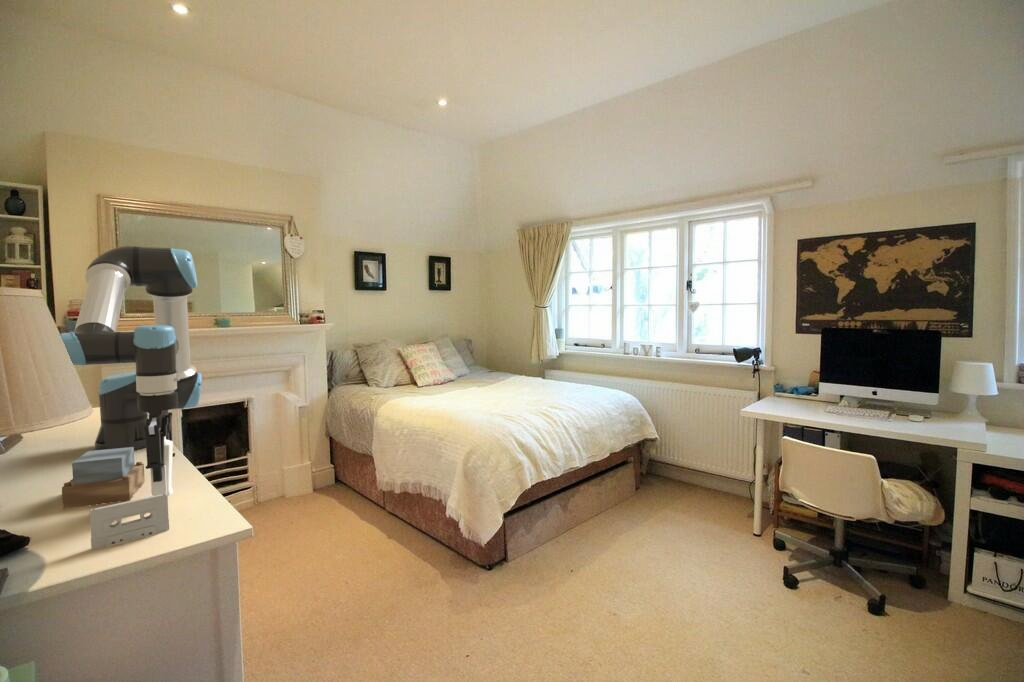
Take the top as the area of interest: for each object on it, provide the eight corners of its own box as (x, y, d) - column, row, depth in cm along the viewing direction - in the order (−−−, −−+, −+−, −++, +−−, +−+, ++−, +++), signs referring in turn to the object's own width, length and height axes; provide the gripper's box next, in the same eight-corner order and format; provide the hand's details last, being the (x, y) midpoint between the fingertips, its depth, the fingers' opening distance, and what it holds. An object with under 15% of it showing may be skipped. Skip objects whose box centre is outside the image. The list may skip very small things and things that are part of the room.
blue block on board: (84, 489, 116) (82, 450, 115) (144, 482, 121) (142, 444, 120) (63, 509, 105) (60, 465, 105) (129, 500, 110) (127, 458, 110)
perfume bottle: (154, 491, 112) (151, 430, 111) (176, 489, 114) (173, 428, 112) (147, 499, 108) (144, 435, 106) (170, 497, 109) (167, 434, 108)
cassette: (168, 527, 98) (166, 492, 97) (169, 531, 96) (168, 495, 96) (91, 547, 90) (89, 508, 89) (91, 551, 88) (89, 512, 88)
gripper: (167, 398, 102) (172, 502, 104) (185, 384, 118) (189, 474, 120) (124, 401, 99) (130, 507, 101) (148, 386, 115) (153, 478, 117)
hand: (162, 489), depth 111 cm, fingers closed on perfume bottle, 5 cm apart
